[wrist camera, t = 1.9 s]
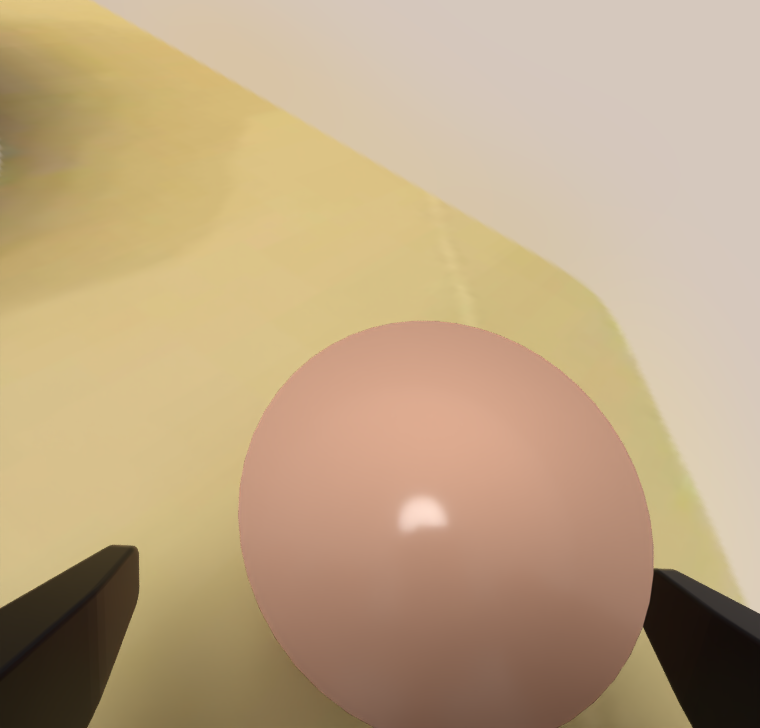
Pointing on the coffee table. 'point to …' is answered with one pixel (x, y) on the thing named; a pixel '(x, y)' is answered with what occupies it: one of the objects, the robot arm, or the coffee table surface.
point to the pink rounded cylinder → (445, 531)
